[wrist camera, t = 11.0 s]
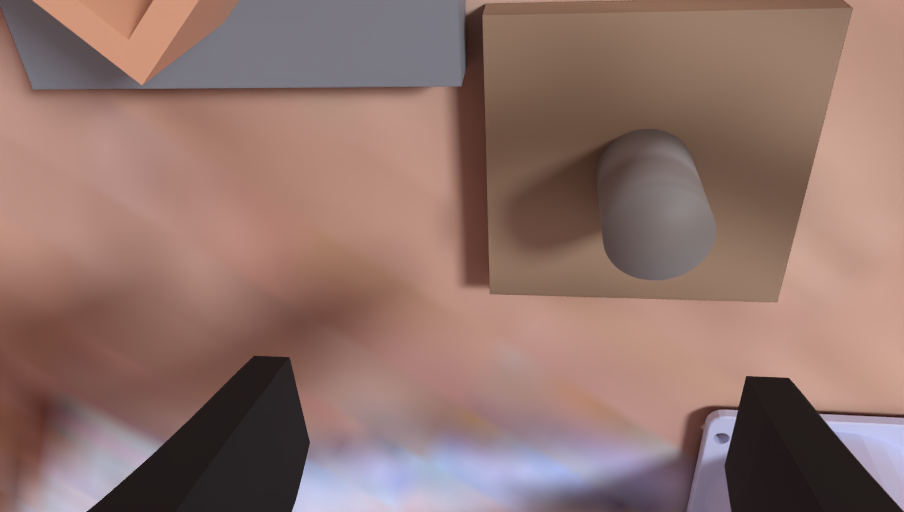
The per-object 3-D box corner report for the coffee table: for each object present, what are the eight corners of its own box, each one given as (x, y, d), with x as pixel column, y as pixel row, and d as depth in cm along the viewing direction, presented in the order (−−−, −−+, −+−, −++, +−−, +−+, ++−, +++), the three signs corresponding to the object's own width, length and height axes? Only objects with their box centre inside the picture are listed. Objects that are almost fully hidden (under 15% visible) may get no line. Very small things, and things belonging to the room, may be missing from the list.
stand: (768, 281, 21) (809, 378, 17) (492, 274, 22) (481, 364, 18) (837, -5, 16) (910, 53, 13) (485, 3, 17) (469, 59, 14)
